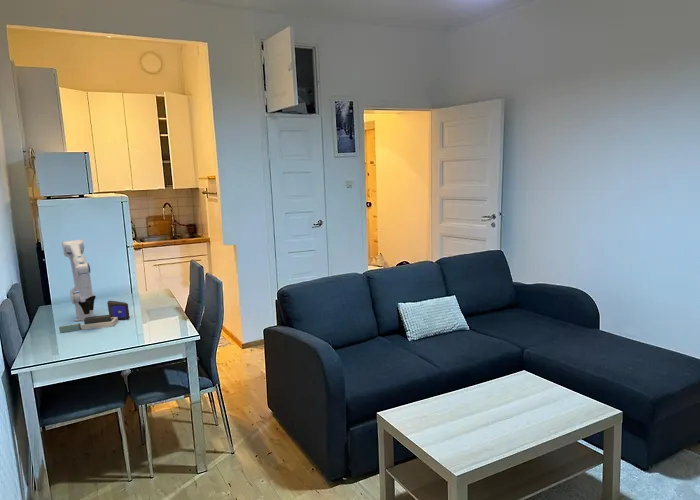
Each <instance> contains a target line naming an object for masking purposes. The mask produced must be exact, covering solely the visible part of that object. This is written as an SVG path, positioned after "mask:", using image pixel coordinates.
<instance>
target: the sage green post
mask: <svg viewBox="0 0 700 500" xmlns="http://www.w3.org/2000/svg"><path fill="white" fill-rule="evenodd" d="M81 325H82V323H73V324H67V325H66V324H65V325H60V326H58V330H59V333H60V334H61V333H67V332H74V331H79V330H82V326H81Z"/></svg>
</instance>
